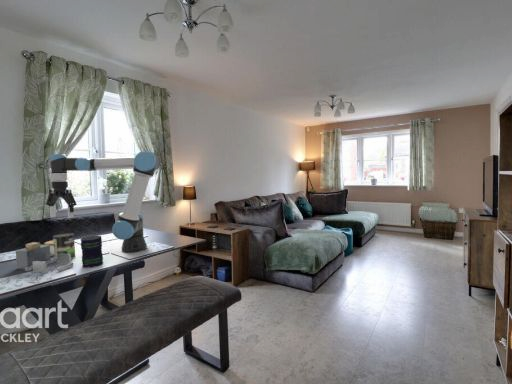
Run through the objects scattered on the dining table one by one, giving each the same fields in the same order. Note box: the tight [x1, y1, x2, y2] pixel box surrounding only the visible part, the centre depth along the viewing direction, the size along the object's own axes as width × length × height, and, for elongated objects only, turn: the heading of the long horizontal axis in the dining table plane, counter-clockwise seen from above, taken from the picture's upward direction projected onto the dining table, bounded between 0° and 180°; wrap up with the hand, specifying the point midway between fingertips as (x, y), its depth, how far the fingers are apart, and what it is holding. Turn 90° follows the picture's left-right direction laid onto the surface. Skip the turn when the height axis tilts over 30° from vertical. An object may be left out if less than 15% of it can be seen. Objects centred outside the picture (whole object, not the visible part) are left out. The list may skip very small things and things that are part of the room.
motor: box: [15, 241, 74, 274], centre depth 146 cm, size 14×29×12 cm, turn 74°
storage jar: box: [80, 235, 104, 269], centre depth 148 cm, size 10×10×15 cm
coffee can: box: [52, 232, 76, 262], centre depth 160 cm, size 10×10×14 cm
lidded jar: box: [43, 240, 54, 256], centre depth 170 cm, size 11×11×9 cm
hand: (62, 217), depth 159 cm, fingers open, 13 cm apart
